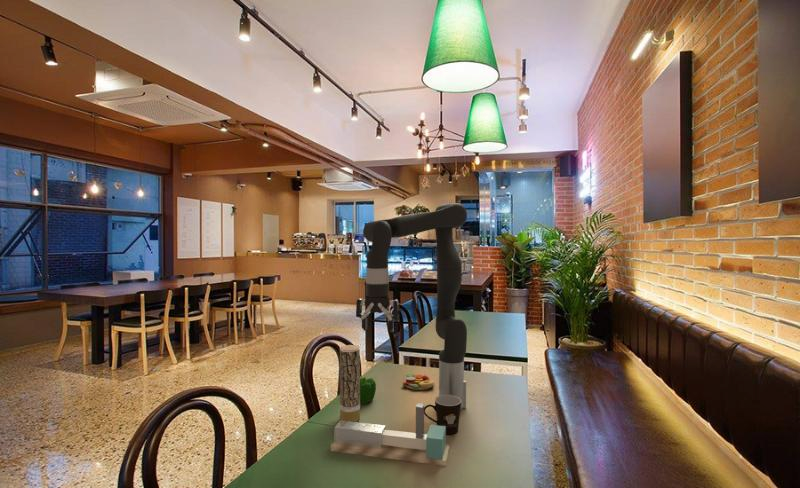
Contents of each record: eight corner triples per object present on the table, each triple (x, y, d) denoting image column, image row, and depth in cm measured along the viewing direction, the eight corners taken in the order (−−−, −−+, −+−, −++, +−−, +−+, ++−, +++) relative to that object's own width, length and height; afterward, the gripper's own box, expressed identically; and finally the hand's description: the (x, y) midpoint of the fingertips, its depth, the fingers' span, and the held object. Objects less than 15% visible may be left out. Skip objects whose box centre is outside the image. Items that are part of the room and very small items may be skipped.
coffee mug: (463, 426, 130) (463, 396, 130) (458, 439, 122) (458, 407, 122) (429, 421, 134) (429, 392, 134) (422, 433, 126) (422, 402, 126)
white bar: (372, 443, 115) (372, 403, 115) (375, 438, 118) (375, 398, 118) (436, 451, 111) (436, 409, 111) (437, 445, 114) (437, 404, 114)
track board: (330, 450, 116) (330, 445, 116) (340, 437, 124) (340, 432, 123) (445, 466, 108) (445, 460, 108) (449, 450, 116) (449, 445, 116)
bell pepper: (364, 394, 157) (364, 369, 157) (380, 400, 152) (379, 374, 152) (349, 401, 150) (349, 375, 150) (364, 407, 145) (364, 380, 145)
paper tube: (356, 425, 131) (356, 351, 131) (337, 423, 133) (336, 349, 132) (362, 416, 138) (362, 345, 138) (344, 414, 139) (343, 344, 139)
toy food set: (435, 392, 160) (435, 384, 160) (402, 392, 160) (402, 384, 160) (432, 380, 173) (432, 372, 173) (402, 380, 174) (402, 372, 174)
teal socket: (426, 457, 109) (426, 437, 109) (430, 443, 117) (430, 424, 117) (442, 459, 108) (442, 439, 108) (445, 445, 116) (445, 426, 116)
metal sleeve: (334, 443, 117) (334, 427, 117) (340, 435, 122) (340, 420, 122) (381, 449, 114) (381, 433, 114) (385, 440, 118) (385, 425, 118)
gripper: (401, 281, 131) (401, 329, 131) (360, 280, 134) (360, 327, 135) (395, 283, 124) (395, 334, 124) (353, 282, 127) (353, 332, 127)
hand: (377, 330), depth 129 cm, fingers open, 8 cm apart
